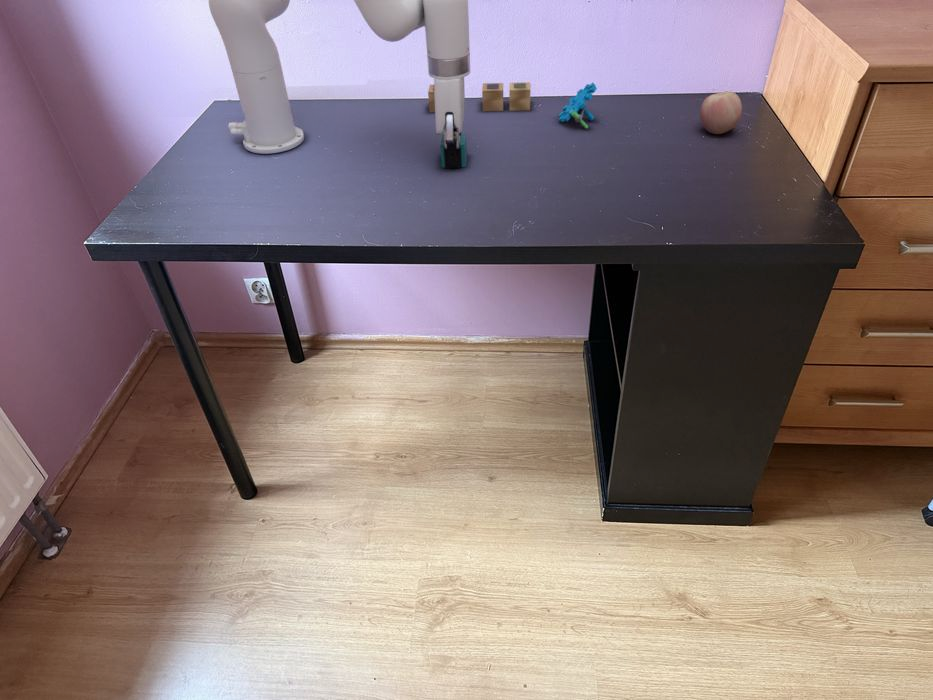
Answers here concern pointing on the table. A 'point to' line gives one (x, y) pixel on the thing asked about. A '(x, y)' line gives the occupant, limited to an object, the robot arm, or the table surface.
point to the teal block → (461, 144)
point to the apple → (721, 112)
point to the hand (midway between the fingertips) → (454, 160)
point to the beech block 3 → (519, 96)
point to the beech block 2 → (492, 96)
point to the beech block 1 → (431, 98)
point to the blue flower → (579, 106)
